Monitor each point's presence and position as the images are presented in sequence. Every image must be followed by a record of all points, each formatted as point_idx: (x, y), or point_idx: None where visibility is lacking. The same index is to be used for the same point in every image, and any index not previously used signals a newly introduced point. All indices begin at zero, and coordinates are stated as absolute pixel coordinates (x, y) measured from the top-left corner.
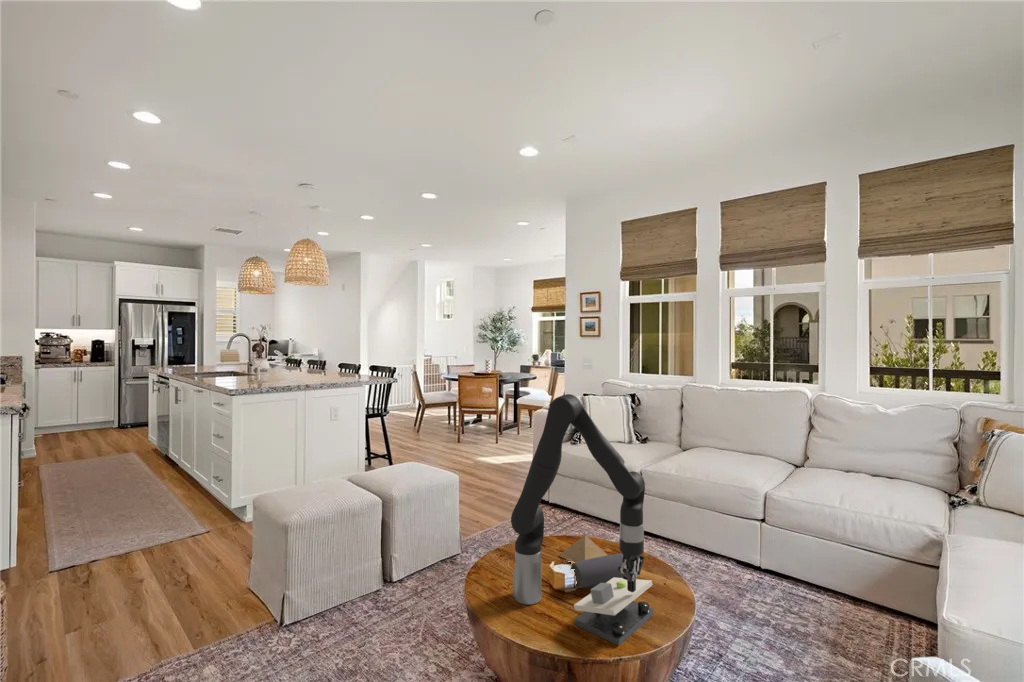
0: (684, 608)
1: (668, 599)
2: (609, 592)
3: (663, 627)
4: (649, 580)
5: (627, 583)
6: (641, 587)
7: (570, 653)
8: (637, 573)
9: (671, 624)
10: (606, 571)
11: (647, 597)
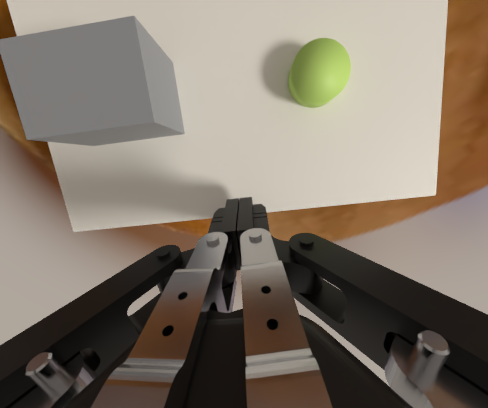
0: (431, 203)
1: (465, 147)
2: (140, 133)
3: (305, 214)
4: (432, 184)
5: (209, 229)
6: (331, 200)
7: (14, 125)
8: (292, 289)
9: (332, 219)
10: None
11: (445, 87)
